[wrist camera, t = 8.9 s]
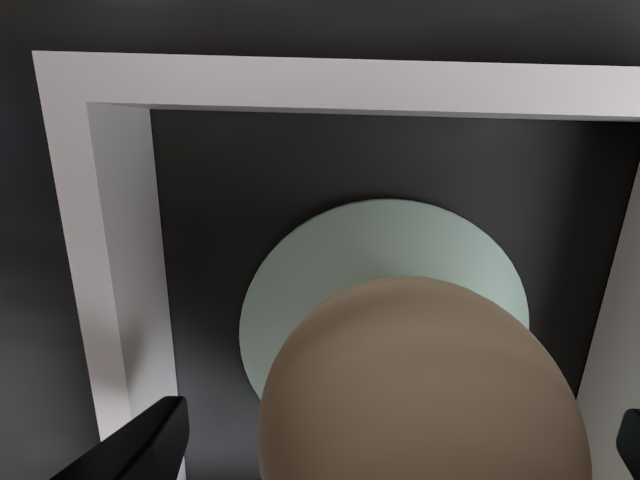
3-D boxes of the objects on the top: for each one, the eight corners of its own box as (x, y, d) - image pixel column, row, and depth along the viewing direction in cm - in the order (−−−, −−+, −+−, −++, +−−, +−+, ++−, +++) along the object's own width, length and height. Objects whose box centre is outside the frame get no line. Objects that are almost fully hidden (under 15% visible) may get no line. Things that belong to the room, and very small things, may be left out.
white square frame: (694, 87, 9) (834, 71, 6) (568, 520, 13) (625, 612, 10) (111, 71, 9) (31, 50, 6) (165, 508, 13) (128, 597, 10)
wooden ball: (475, 432, 11) (636, 748, 6) (276, 428, 11) (231, 743, 5) (509, 242, 10) (795, 415, 4) (274, 236, 10) (206, 402, 4)
